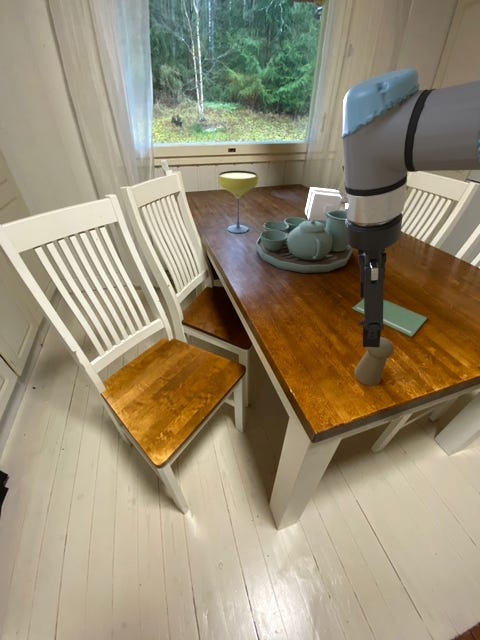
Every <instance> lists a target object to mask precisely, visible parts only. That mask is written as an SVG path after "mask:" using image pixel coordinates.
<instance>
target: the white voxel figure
mask: <svg viewBox="0 0 480 640" xmlns="http://www.w3.org/2000/svg"><path fill="white" fill-rule="evenodd" d="M340 192H341V191H340V190H336V189H335V188H334V189H333V188H324V187H315V186H310V187H309V191H308V196H307V201H306V205H305V208H304V214H305V216H306V219H307V220H308V221H311V220H325V221H327V216H326V215H325V213H326V212H329V211H332V210H345V205H346V203H345V204H342V203H340V199H341V197H343V196H342V194H340Z"/></svg>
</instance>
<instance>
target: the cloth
mask: <svg viewBox="0 0 480 640" xmlns="http://www.w3.org/2000/svg"><path fill="white" fill-rule="evenodd" d="M351 310H354V311H356V312H358V313H360V314H362V315H364V298H363V299H362V300H360V301H359V302H358V303H357V304H355V305H354V306H352V307H351ZM427 319H428V317H426V316H424V315H421V314H419V313H416V312H415V311H412V310H410V309H407V308H405V307H402V306H400V305H398V304H396V303H393V302H391V301H388V300H386V299H384V298H383V325H384V326H387V327H388V328H391V329H394V330H396V331H397V332H399V333H402V334H404V335H406V336H408V337H410V338H413V336H414V335H415V334H416V333H417V332H418V330H419V329H420V328H421V327H422V326H423V324H424V323H425V322H426V321H427Z"/></svg>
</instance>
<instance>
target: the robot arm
mask: <svg viewBox="0 0 480 640" xmlns="http://www.w3.org/2000/svg"><path fill="white" fill-rule="evenodd" d="M342 103H343V104H342V105H343V106H342V133H341V139H342V148H343V150H342V151H343V170H344V196H342V197H341V199H340V203H342V204H345V203H346V205H345V214H346V218H347V219H346V222H345V228H346V242H347V244H348V245H349V246H350V247H351V249H354V250H357V256H358V257H357V258H358V259H357V262H358V266H359V297H360V298H363V299H364V314H363V318H362V320H359V322H358V323H359V326H362V348H367V347H380V337H381V336H382V335H381V334H382V331H383V330H384V327H385V324H383V299H384V294H385V293H384V290H385V278H386V266H385V265H386V263H387V261H388V260H387V252H386V249H387V248H389V247H391V246H392V245H393V246H394V244H396V243H397V242H398V241H399V239H400V237H401V233H402V224H403V211H404V209H405V202H406V194H407V185H408V173H417V172H434V171H435V172H437V171H438V172H439V171H440V172H442V171H443V172H444V171H480V79H477V80H472V81H467V82H463V83H459V84H454V85H449V86H445V87H440V88H431V89H427V88H426V89H420V84H419V72H418V71H417V69H415V68H409V67H408V68H404V69H397V70H393V71H388V72H386V73H382V74H379V75H376V76H373V77H371V78H367V79H365V80H362V81H360V82H359V83H356V84H355V85H354V86H352V87H350V88H349V89H348V91H347V92H346V94H345V96H344V99H343V102H342Z"/></svg>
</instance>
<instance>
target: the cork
mask: <svg viewBox="0 0 480 640" xmlns="http://www.w3.org/2000/svg"><path fill="white" fill-rule="evenodd" d="M394 347H395V346H394V344H393V343H392V342H391V340H389V339H388V338H385V337H382V336H380V347H366V352H365V353H364V354H363V356H362V358H361V359H360V360H359V362H358V364H357V365H356V366H355V368H354V370H353V375H354V377H355V379H356V380H357V381H358V382H360V383H361V384H363V385H365V386H369V387H375V386H378V385H379V384H380V383H381V380H382V377H383V373H384V371H385V367H386V363H387V359H389V358H390V357H392V356H393V354H394V350H395V348H394Z"/></svg>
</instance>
